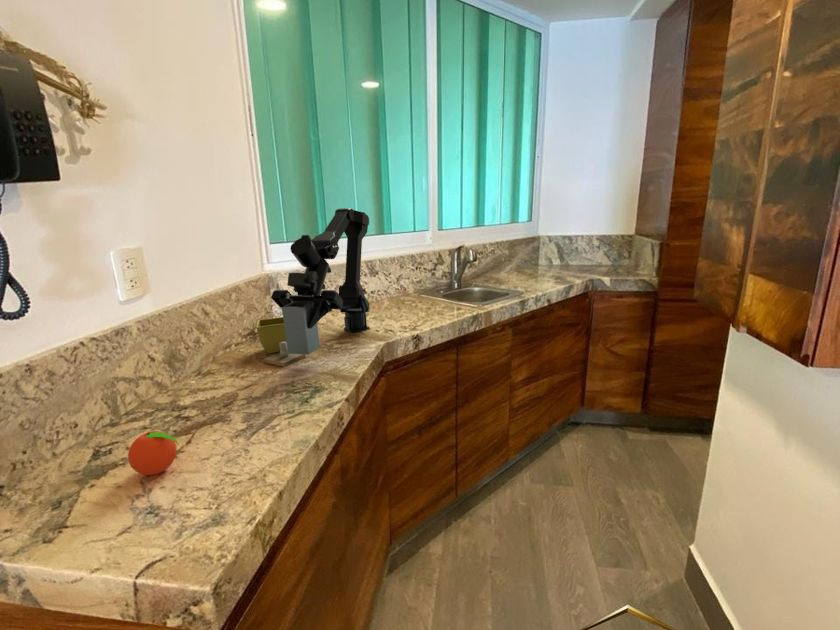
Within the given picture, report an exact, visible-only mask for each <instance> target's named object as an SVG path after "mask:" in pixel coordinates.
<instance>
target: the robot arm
mask: <svg viewBox="0 0 840 630" xmlns="http://www.w3.org/2000/svg"><path fill="white" fill-rule="evenodd" d="M369 225H370V218H369V215H368V214H366V212H364V211H359V210H354V209H353V208H350V207H344V208H337V209H335V212H334V216H333V217H332V218H331V220H330V221H329V223H328V224H327V226H326V228H325V230H324V231H322V233H320V234H317V235H316V236H314V238H311V237H310V235H309V234H303V235H301V237H300V238H297V240H295V241H294V242H293V243H292V244H291V246H290V252H291V253H292V255H293V256H294V257H295V259H296V260H297V261H298V262H299V264H300V265H301V267H303V268H305V270H304V272H289V273H288V276H287V283H286V284H287V286H288V287H292V288H293V291H294V292H295V293H296V294H292V293H291V292H290V291H289V290H288V289H275V290H273V291H272V293H271V297H270V298H271V299H272V301H274V303H275V304H276V305H278V307H279V308H280V309H282V307H283V306H286V305H288V304H290V303H292V302H314V308H313V311H312V314H311V317H310V320H309V324H308V327H309V328H310V329H311V328H312V327H313V326H314V325H315V324H316V323H317V324H318V322H319V321H320V320H322V318H323V317H324V316H326V315H327V314H328V313H331V312H332V311H333V310H340V313H342V314H344V317H343V320H344V327H343V330H346V331H348V332H351V333H357V332H360V331H365V330H368V329H369V330H370V329H371V328H370V326H369V325H368V322H367V313H369V312H370V308H371V307H370V302H369V301H368V300H367V297H366V296H365V289H364V288H363V286H362V284H361V264H362V246H363V244H362V243H363V239H364V237H366V235H367V233H368V229H369V228H368V227H369ZM344 234H345V236H346V239H347V241H346V254H345V255H346V258H345V277H344V282H343V283H342V284H341V285H339V287H338V291H337V290H336V289H326V285H325V284H324V283H325V280H326V277H327V274H331V273H332V268H331V267H330V264H329V263H328V262H327V260H334V259H335V258H336V257H337V255H338V253H339V250H340V245H339V244H338V243H339V241H340V240H341V237H342V236H343V235H344Z"/></svg>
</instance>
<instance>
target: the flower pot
mask: <svg viewBox="0 0 840 630" xmlns="http://www.w3.org/2000/svg"><path fill="white" fill-rule="evenodd" d="M255 328H256V332H257V335H258V338H259V342H260V344H261V346H262V348H263V350H265V351H266V352H267V353H268V354H272V353H279V352H280V346H279V343H280V342H287V341H286V334H285V327H284V320H283V316H279V317H272V318H265V319H258V320H257V323H256V327H255Z"/></svg>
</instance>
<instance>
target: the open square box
mask: <svg viewBox="0 0 840 630" xmlns="http://www.w3.org/2000/svg"><path fill="white" fill-rule="evenodd" d="M313 308H314V302H292V303H290V304H288V305H286V306H283V307H282V308H281V312H282V317H283V320H284V327H285V334H286V341H287V349H288V354H304V355H306V356H307V355H308V356H309V355H311V354H312V353H313V352H315V351H316V350H318V349H319V348H321V345H320V336H319V328H318V322H317V323H316V324H315V325H314V326H313V327H312V328H311V329H310V328H309V327H308V324H309V320H310V317H311V314H312V311H313Z"/></svg>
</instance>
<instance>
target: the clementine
mask: <svg viewBox="0 0 840 630" xmlns="http://www.w3.org/2000/svg"><path fill="white" fill-rule="evenodd" d="M177 445H179V443H178V441H177V440H176V439H175V438H174V437H173V436H171V435H169V434H168V433H166V432H163V431H158V430H152V431H147V432H145V433H142V434H141V435H139V436H138V437H137V438H136V439H135V440H133V442H132V444H131V445H130V447H129V449H128V453H127V460H128V464H129V466H130V467H131V469H133V471H135V472H137V473H138V474H139V475H140V474H141V475H144V476H153V475H158V474H160V473H162V472H164V471H166V470H167V469H169V467H170V466H171V465H172V464H173V462H174V461H175V459H176V456H177V453H178V452H177V449H178V448H177Z"/></svg>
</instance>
